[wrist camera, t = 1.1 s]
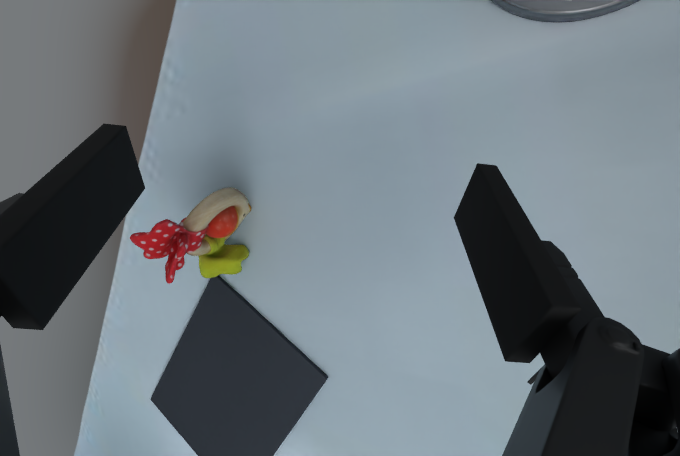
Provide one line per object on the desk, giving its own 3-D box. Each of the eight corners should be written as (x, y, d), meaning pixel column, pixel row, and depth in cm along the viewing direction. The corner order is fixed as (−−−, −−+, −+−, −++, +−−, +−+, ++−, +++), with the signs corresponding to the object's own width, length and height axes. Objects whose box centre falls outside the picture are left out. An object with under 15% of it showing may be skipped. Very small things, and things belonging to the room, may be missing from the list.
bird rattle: (239, 191, 38) (185, 258, 37) (175, 141, 28) (97, 233, 27) (281, 223, 36) (225, 294, 35) (230, 183, 26) (148, 283, 25)
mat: (215, 272, 38) (213, 273, 37) (328, 376, 33) (326, 378, 33) (153, 397, 44) (150, 399, 43) (240, 501, 39) (238, 503, 39)
